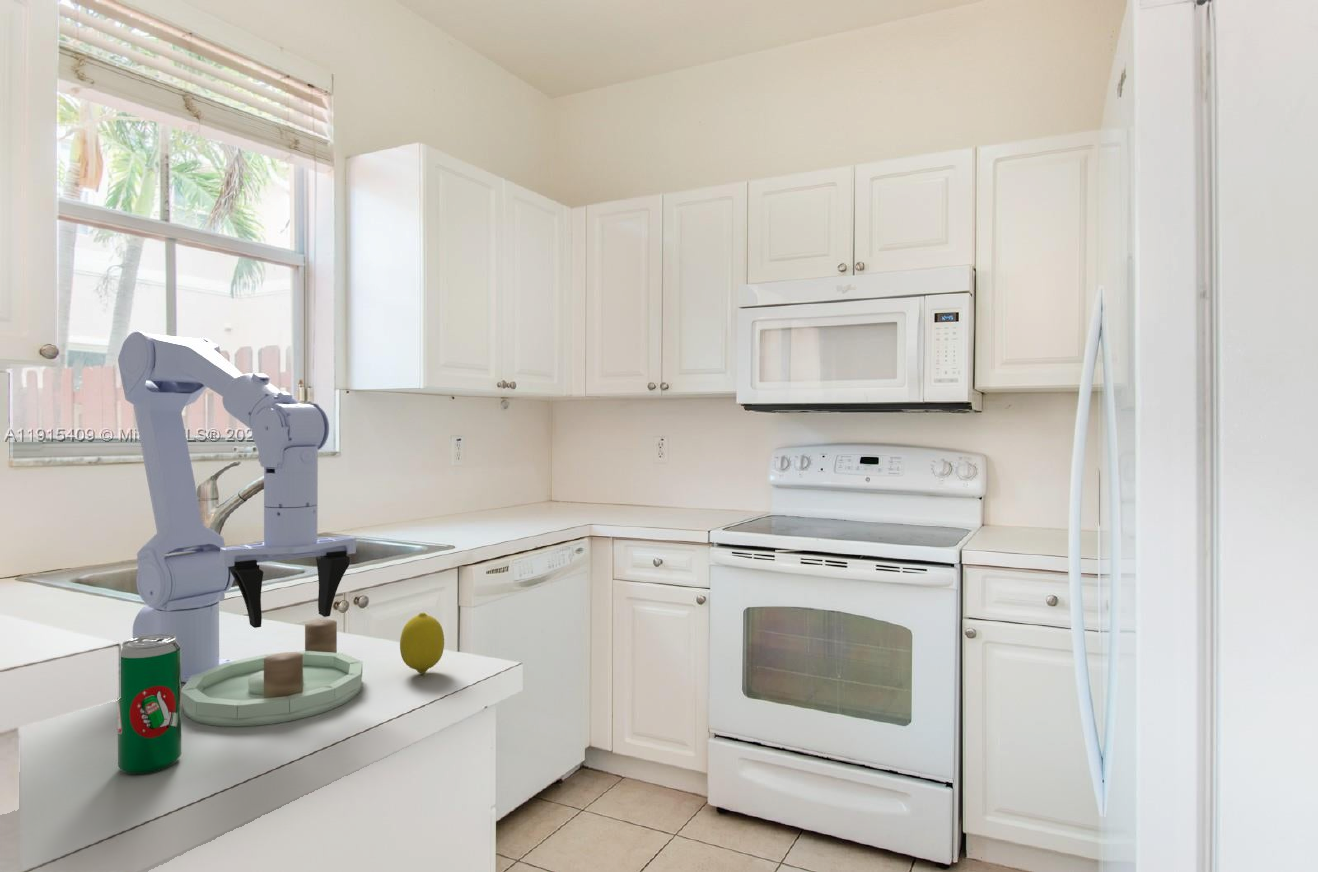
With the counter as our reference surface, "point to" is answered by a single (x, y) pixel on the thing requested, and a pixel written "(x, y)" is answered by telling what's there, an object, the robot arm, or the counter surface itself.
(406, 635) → the lemon
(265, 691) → the bead
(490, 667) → the counter surface
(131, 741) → the soda can
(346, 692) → the tray
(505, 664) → the counter surface
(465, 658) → the counter surface
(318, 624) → the bead
